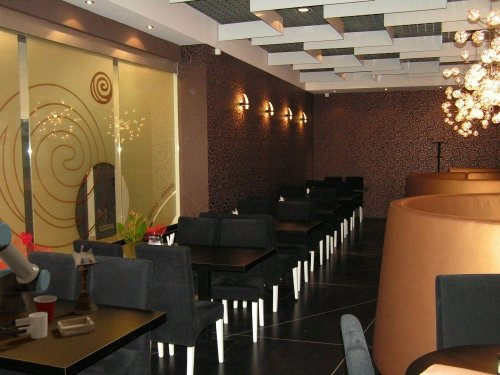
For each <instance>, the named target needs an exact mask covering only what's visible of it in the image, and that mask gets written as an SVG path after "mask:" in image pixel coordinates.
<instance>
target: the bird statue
mask: <svg viewBox="0 0 500 375" xmlns="http://www.w3.org/2000/svg"><path fill="white" fill-rule="evenodd" d="M93 251H94V250H93V249H92V247H90V249H89V250H88V251H85V247H84V244H82V245H81V246H80V251H79V252H76V251H71V256H72V258H73V261H74V268H75V270H77V268H78V267H79V268H78V271H79V275H81V290H80V291H79V295H78V298H76V299H77V300H76V301H75V302H76V303H75V306H74V308H73V313H74V314H76V315H88V313H89V314H94V313H95V311H96V312H98V311H97V310H98V306H97V305H96V304H95V301H94V298H93V297H92V296H91V294H90V290H89V289H88V288H87V287H88V285H87V284H88V281H87V280H88V278H87V275H88V274H89V270H90V268H89V267H93V266H94V265H97V266H100V263H99V261H97V259H96V257H95V253H94V252H93Z"/></svg>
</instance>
